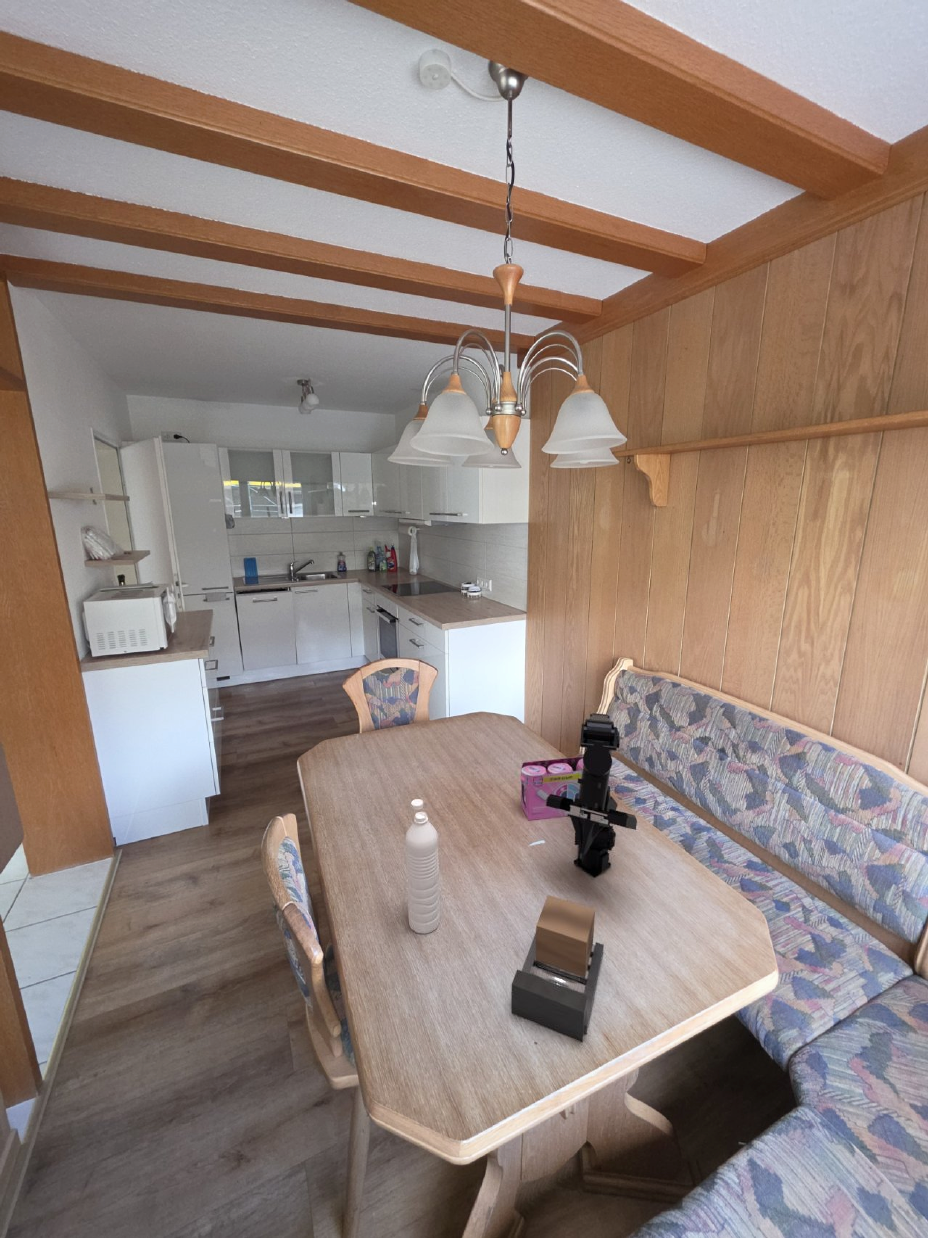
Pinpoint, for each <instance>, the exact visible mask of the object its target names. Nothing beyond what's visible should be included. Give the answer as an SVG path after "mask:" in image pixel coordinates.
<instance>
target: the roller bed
mask: <svg viewBox="0 0 928 1238" xmlns="http://www.w3.org/2000/svg"><path fill="white" fill-rule="evenodd" d="M604 948H605V945H604V943H600V942H596V941H595V943H593V946H592V950H591V954H590V958H589V963H588V967H587V971H586V976H585V978H584V977H581V976H578V975H576V974H573V973H570V972H567V971H565V970H562V969H559V968H556V967H554V966H551V965H548V964H545V963H543V962H540V961H537V960H535V959H536V932H535V934H534V935H533V939H532V942H531V944H530V948H529V949H528V951H527V955H526V958H525V961H524V963H523V966H522V969H521V970H519V969H516V971H515V974H514V977H513V980H512V982H511V996H510V997H511V999H510V1001H511V1002H510V1003H511V1004H510V1005H511V1007H510V1008H511V1009H510V1010H511V1012H510V1013H511V1014H513V1015H516V1016H518V1017H520V1018H522V1019H525V1020H527V1021H528V1022H532V1023H534V1024H537V1025H539V1026H541V1027H545V1028H546V1029H549V1030H551V1031H553V1032H556V1033H559V1034H561V1035H564V1036H565V1037H568V1038H570V1039H572V1040H576V1041H577V1042H580V1043H583V1042H584V1037H585V1035H586V1036H587V1034H588V1029H589V1025H590V1018H591V1015H592V1010H593V1005H594V1000H595V994H596V990H597V986H598V980H599V976H600V970H601V965H602V961H603V956H604V951H605V950H604ZM545 969H546V970H545ZM567 977H568V978H567Z"/></svg>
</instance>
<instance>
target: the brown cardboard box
mask: <svg viewBox="0 0 928 1238" xmlns="http://www.w3.org/2000/svg"><path fill="white" fill-rule="evenodd" d="M595 917H596V908H595V909H594V908H592V907H590V906H586V905H582V904H579V903H576V902H572V901H569V900H566V899H564V898H563V899H562V898H559V897H556V896H553V895H551V894H547V896H546V898H545V902H544V905H543V907H542V910H541V913H540V914H539V918H538V919H537V920H538V921H537V922H536V926H535V933H536V959H535V960H537V961H540V962H543V963H545V964H548V965H551V966H554V967H556V968H559V969H562V970H565V971H567V972H570V973H573V974H576V975H578V976H581V977H584V978H585V976H586V971H587V970H588V969H587V967H588V963H589V958H590V957H591V956H590V954H591V950H592V946H593V944H594V932H595Z"/></svg>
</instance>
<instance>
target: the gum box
mask: <svg viewBox="0 0 928 1238" xmlns="http://www.w3.org/2000/svg"><path fill="white" fill-rule="evenodd" d="M583 765H584V764H583V756H582V755H581V756H573V757H566V758H565V757H564V758H556V759H555V758H554V759H546V760H545V759H543V760H534V761H533V760H532V761H527V762H526V761H525V762H524V761H523V762H522V764H521V769H520V770H521V771H520V782H521V785H520V786H521V788H520V789H521V790H520V791H521V792H520V793H521V794H520V805H521V808H522V810H523V812H524V814H525V816H526V818H527V821H533V820H547V819H553V818H563V817H568V816H567V815H568V814H570V812H569V811H565V810H561V809H556V808H552V807H548V806H545V805H546V800H547V797H548V796H549V795H550V794H554V795H558V796H561V797H565V798H569V799H573V801H574V800H575V798H578V794H579V788H580V784H579V783H577V782H578V778H579V779H581V776H582V771H583Z"/></svg>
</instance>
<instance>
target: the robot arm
mask: <svg viewBox="0 0 928 1238" xmlns="http://www.w3.org/2000/svg"><path fill="white" fill-rule="evenodd" d="M610 717H611V716H610V715H608V714H605V713H595V712H592V713H589V718H585V722H583V723H581V728H580V738H579V739H580V741H579V747H580V748H584V754H583V764H584V765H583V771H582V776H581V779H579V778H578V782H577V783H579V784H580V788H579V794H578V798H575V800H574V801H573V799H569V798H565V797H561V796H558V795H554V794H550V795H549V796H548V797H547V800H546V805H545V806H548V807H552V808H556V809H561V810H565V811H569V812H570V814H568V815H567V816H566V817H568V818H570V820H571V824H572V826H573V829H574V845H575V846H578V847H577V858H575V859H573V861H572V863H573V864H574V865H575V866H576V867H578V868H580V869H581V870H582V871H584V872H585V873H587V875H589V876H591V877H592V878H597V877H598V876H599V875H601V874H602V873H604V872H605V871H607V870H608V869H609V868H611V867H612V863H611V862H610V853H609V851H610V852H612V851H613V848H614V847H616V846H615V845H616V836H617V833H616V832H615V829H614V825H615V826H618V827H621V828H626V829H629V830H630V829H631V830H637V824H638V821H637V817H636V815H635V814H632V813H628V812H625V811H620V810H617V809H618V803H617V801H616V800H615V799H614V798H613V796H611V786H610V785H609V781H610V774H611V773H610V772H611V768H612V765H613V757H612V752H617V749H620V744H621V743H620V742H621V740H620V738H621V737H620V735H621V734H620V731H619V728H618V727H617V726H615V723H614V721H613V720H612V721H611V720H610Z"/></svg>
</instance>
